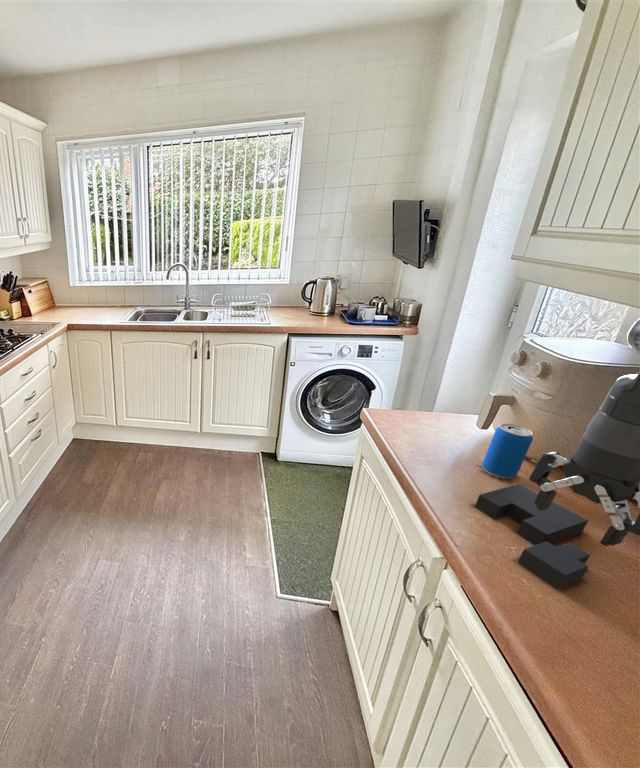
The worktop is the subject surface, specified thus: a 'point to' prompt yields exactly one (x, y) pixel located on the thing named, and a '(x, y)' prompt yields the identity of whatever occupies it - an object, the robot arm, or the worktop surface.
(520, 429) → the beverage can
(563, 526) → the base pad
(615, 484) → the robot arm
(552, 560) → the pad
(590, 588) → the worktop surface
